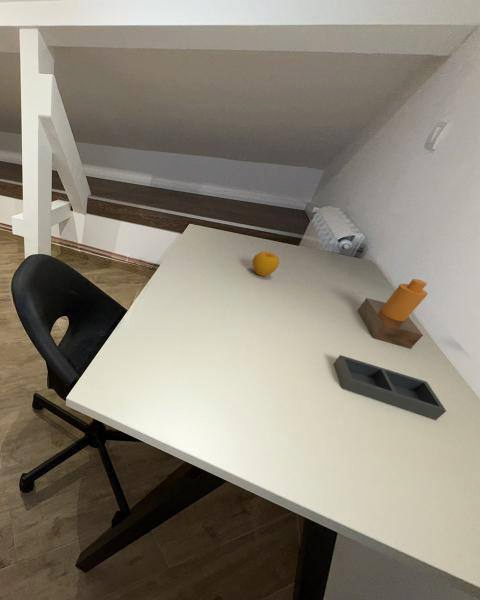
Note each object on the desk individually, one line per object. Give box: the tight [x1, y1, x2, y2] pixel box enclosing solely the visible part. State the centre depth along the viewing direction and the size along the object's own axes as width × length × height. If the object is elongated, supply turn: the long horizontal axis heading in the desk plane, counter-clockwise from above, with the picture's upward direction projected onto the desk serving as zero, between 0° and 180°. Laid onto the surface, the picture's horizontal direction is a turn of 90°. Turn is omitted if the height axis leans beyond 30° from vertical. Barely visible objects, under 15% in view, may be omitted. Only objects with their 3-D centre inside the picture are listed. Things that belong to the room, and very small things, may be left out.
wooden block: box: [357, 297, 424, 349], centre depth 93 cm, size 9×16×5 cm, turn 156°
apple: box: [251, 251, 280, 278], centre depth 115 cm, size 9×8×9 cm
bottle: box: [380, 278, 429, 321], centre depth 89 cm, size 6×6×12 cm
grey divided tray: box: [333, 354, 447, 421], centre depth 71 cm, size 9×17×4 cm, turn 66°
